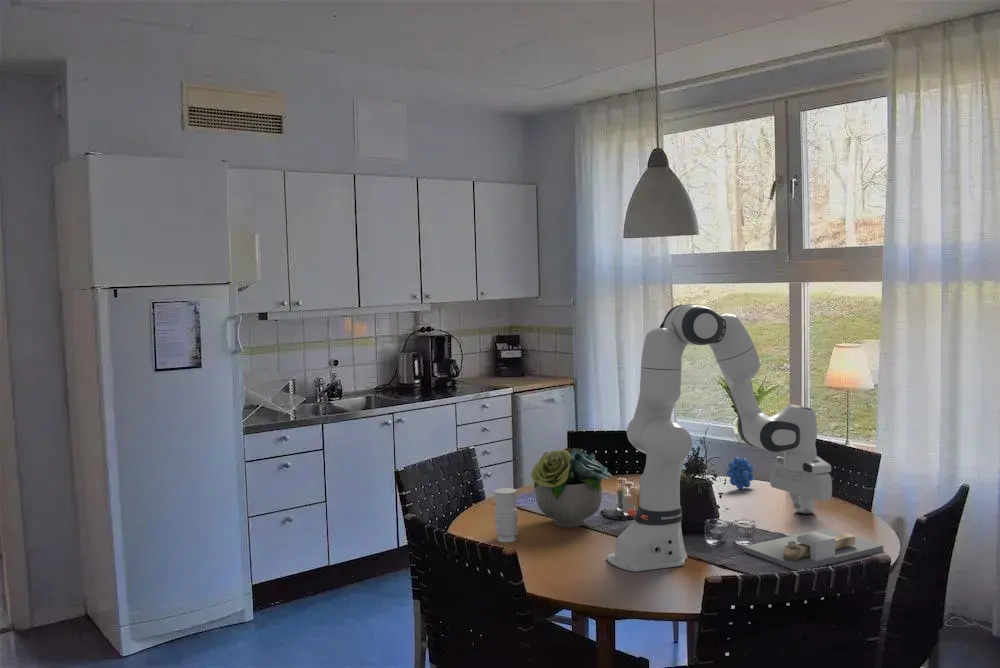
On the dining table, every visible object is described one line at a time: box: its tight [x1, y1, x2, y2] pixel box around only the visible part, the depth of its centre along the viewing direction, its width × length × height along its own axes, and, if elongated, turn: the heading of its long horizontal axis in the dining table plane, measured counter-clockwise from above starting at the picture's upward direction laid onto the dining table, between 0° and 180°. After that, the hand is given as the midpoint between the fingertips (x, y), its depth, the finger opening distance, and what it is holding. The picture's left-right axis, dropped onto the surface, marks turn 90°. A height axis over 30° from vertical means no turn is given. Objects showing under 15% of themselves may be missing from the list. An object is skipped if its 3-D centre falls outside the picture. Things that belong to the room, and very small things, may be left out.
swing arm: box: [783, 533, 856, 560], centre depth 230 cm, size 24×4×2 cm, turn 116°
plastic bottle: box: [794, 495, 816, 515], centre depth 274 cm, size 6×7×20 cm
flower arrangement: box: [531, 447, 613, 529], centre depth 270 cm, size 25×25×24 cm
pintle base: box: [743, 527, 884, 571], centre depth 236 cm, size 32×20×6 cm, turn 117°
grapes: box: [726, 456, 755, 490], centre depth 307 cm, size 12×7×12 cm, turn 113°
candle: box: [493, 487, 519, 543], centre depth 257 cm, size 7×7×15 cm
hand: (799, 509), depth 242 cm, fingers closed
